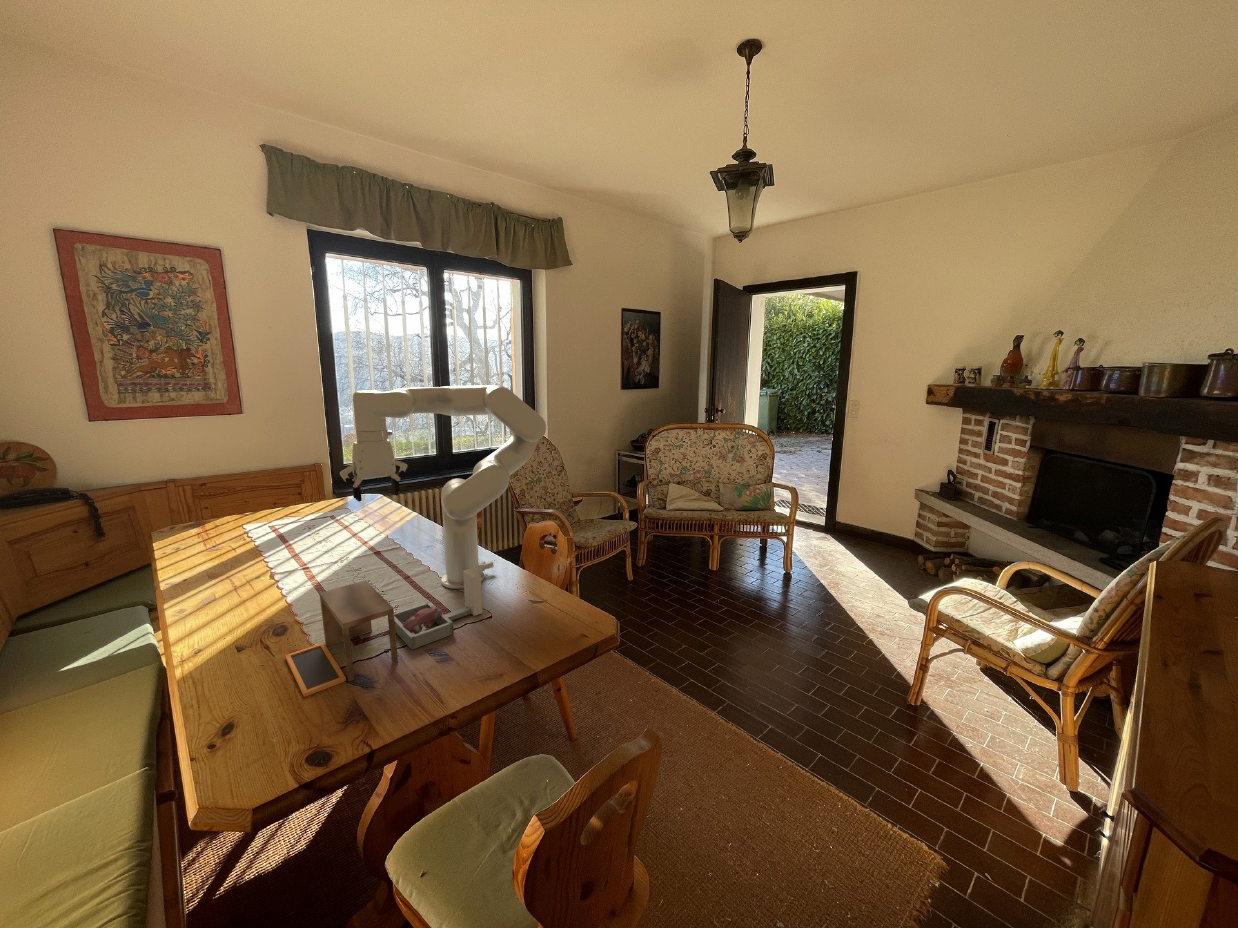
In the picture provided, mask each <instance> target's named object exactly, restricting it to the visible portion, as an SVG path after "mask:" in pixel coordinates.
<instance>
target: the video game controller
mask: <svg viewBox="0 0 1238 928" xmlns="http://www.w3.org/2000/svg"><path fill="white" fill-rule="evenodd" d="M442 613H443V611H442V609H440V608H439V607H437V606H435V605H433V606H432V607H431V608H426V609H422V610H420V611H418V612H417V613H416V614H415V615H414V616H412V617H410V618H409V619H408V620H407V621H406V622H404V623H402V624H403V627H404V628H407V629H408V631H409V632H410V633H411V634H413V635H415V634H418V633H421V632H423V631H422V630H423V628H425V629H427V630H428V629H429V628H430V629H431V627H432V626H433V624H434V623H436V620H437V619H438V618H439V615H440V614H442ZM422 624H423V625H422ZM423 626H424V627H423Z"/></svg>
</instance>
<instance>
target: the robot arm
mask: <svg viewBox="0 0 1238 928" xmlns="http://www.w3.org/2000/svg"><path fill="white" fill-rule="evenodd" d="M352 405H353V406H352V407H353V416H354V425H355V426H354V427H355V438H356V441H353V443H352V452H351V453H352V454H351V455H352V457H351V458H352V460H351V461H352V464H350V465H349V466H348V467H346V468H344V469H342V470H340V472H339V475H340V477H341V478H342V479H343V481H344V482H346V484H348V485H350V486H351V488H352V489H351V490H352V497H353V499H355V500H356V501H357V502H359V503H360V502H362V501H363V499H362V489H361V487H360V484H361V483H362V482H363V480H371V479H376V478H377V479H379V478H385V477H391V480H390V486H391V487H390V489H391V493H392V495H394V496H398V495H399V492H400V481H401V479H402V478H403V476H404V475H405V473H406V470H407V469H408V464H407V463H405V462H403V461H399V460H396V459H395V455H394V451H393V450H394V449H393V446H392V443H391V440H390V439H389V437H390V436H393V430H389V429H388V428H387V419H386V418H390V419H391V418H393V419H404V418H408V417H410V416H411V415H413V414H416V415H417V414H441V415H444V416H450V417H465V416H466V417H467V416H482V415H483V416H485V415H489V416H490V415H492V416H494V418H496V419H497V420H498V421H500V422H501V424H503V425H504V426H505V427H506V428H508V429H510V430H511V435H510V437H509V438H508V439H507V441H506V442H504V443H503V444H502V445H501V446H500V447H498V448H497V449H496V450H494V451H493V452H492V453H490V454H489V455H488V456H485V457H484V458H483V459H482V460H479V462H477V463H476V464H475V466H474V467H473V470H472V475H471V476H469V477H468V478H467V479H463V478H459V477H458V478H452V479H450V480H448V481H447V482H446V483H445V484H444V485H443V487H442V489H441V493H440V499H441V501H440V502H441V509H442V510H441V511H442V512H441V513H442V522H443V523H442V524H443V525H442V526H443V541H444V558H445V573H444V574H443V576H441V579H440V580H441V581H440V582H441V585H443V586H444V587H446V588H448V589H451V590H452V589H453V590H460V589H463V590H464V575H463V571H465V570H468V569H471V568H472V569H473V570H475V571H476V572H478V573H479V574H481V583H482V582H483V581H484V579H485V573H484V572H485V570H489V569H492V568H494V563H493V561H488V562H486V561H485V560H483V561H480V562H479V546H478V545H479V544H478V523H477V520H478V519H477V514H478V513H479V512H481V511H483V510H484V509H485V508H486V507H487V506H489V505H490V504H491V503H493V502H494V501H495V500H497V499H498V498H500V496H503V494H504V493H505V491H506V490H507V489H508V487H509V485H510V479H511V478H510V476H512V474H514V473H515V472H516V471H518V470H519V469H520V468H521V467H523V466H524V465H525V464H526V463H527V462H528V461H529V460H530V459H531V457H532V456H533V455H534V453H535V451H536V448H537V445H538V441H540V440H541V439H542V438H543V437H544V436H545V434H546V432H547V431H546V430H547V425H546V421H545V420H544V418H543V417H542V416H541V415H540V414H539V413H538V412H536V411H535V410H534V409H533V408H532V407H531V406H529V405H528V404H527V403H526V402H525V401H523V400H522V399H521V398H520V397H518V396H517V395H516V394H515V393H514V392H513V391H512V390H511V389H509V388H508V387H507V386H506V387H505V386H503V385H499V384H483V385H482V384H481V385H479V384H478V385H451V386H450V385H449V386H448V385H447V386H440V387H439V386H435V387H400V388H399V387H398V388H396V389H392V390H390V391H379V390H375V389H374V390H372V389H370V390H368V389H367V390H357V391H355V392H354V393H353V394H352ZM396 466H398V467H400V468H399V470H398V471H397V472H396V470H397V469H396V468H397V467H396ZM350 473H352V474H353V476H354V477H353V479H352V478H350V476H349V474H350Z"/></svg>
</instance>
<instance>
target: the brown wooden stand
mask: <svg viewBox="0 0 1238 928" xmlns="http://www.w3.org/2000/svg"><path fill="white" fill-rule="evenodd" d="M319 601H320V602H319V603H320V611H321V616H322V617H321V619H322V625H323V634H324V644H325V646H326V647H330V646H333V645H334V644H335V645H336V644H337V643H341V642H343V651H344V658H345V668H346V678H347V680H348V682H351V681H354V680H355V675H354V674H355V672H354V665H353V656H352V646H351V639H352V638H356V637H360V636H361V635H364V634H367V633H370V632H372V631H373V627H372V621H374V620H377V619H379V618H383V617H387V622H388V623H387V624H388V632H389V633H388V634H389V644H390V656H391V663H392V664H393V665H395V664H397V663H399V656H398V645H397V636H396V634H397V633H396V632H395V620H394V613H395V611H394V607H393V606H392V605H391V604H390V603H389V602H388V601H387V600H386V599H385V598H384V597H383V596H382V595H381V594H380V593H379V592H378V591H377V590H376V589H375V588H374V587H373V586H372V585H371V584H370V583H369V582H368V581H367V580H361V581H359V582H354V583H351V584H348V585H344V586H340V587H335V588H333V589H329V590H326V591H321V592H319Z"/></svg>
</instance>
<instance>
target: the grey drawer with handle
mask: <svg viewBox="0 0 1238 928" xmlns="http://www.w3.org/2000/svg"><path fill="white" fill-rule="evenodd" d="M463 575H464V588H463V590H464V592H463V593H464V607H463V608H460V609H456V610H454V611H451V612H448V613H445V614H444V613H443V612H442V614H440V615H439V618H438V619H437V620H436V621H435V623H437V624H438V626H434V627H432V628H430V629H429V628H428V629H427V630H425V631H421V632H420V633H418V634H413V633H410V632H409V631H408V629H407V628H404V627H403V624H404V623H405V622H406V621H407V620H408V619H409V618H410V617H412V616H414V615H415V614H416V613H417V612H418V611H420V610H422V609H426V608H431V607H432V606H434V605H433V604H432V603H431V602H430V601H428V602H423V603H422V604H418V605H414V606H412V607H409V608H406V609H403V610H400V611H396V612H394V620H395V632H396V634H397V635H398V636H399V638H401V639H402V640H403V642H404V643H405V644H406V645H407V646H408V647H409V649H411V650H415V649H418V648H419V647H423V646H426V645H428V644H431V643H433V642H435V641H438V640H441V639H444V638H446V637H450V636H451V635H454V634H455V630H454V629H455V628H454V622H453V621H454V620H458V619H461V618H463V617H465V616H468V615H470V614H471V615H473V617H474V616H478V615H481V614H483V597H482V596H483V595H482V582H481V574H479V573H478V572H476V571H475V570H473V569H472V568H471V569H468V570H465V571H463Z"/></svg>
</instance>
